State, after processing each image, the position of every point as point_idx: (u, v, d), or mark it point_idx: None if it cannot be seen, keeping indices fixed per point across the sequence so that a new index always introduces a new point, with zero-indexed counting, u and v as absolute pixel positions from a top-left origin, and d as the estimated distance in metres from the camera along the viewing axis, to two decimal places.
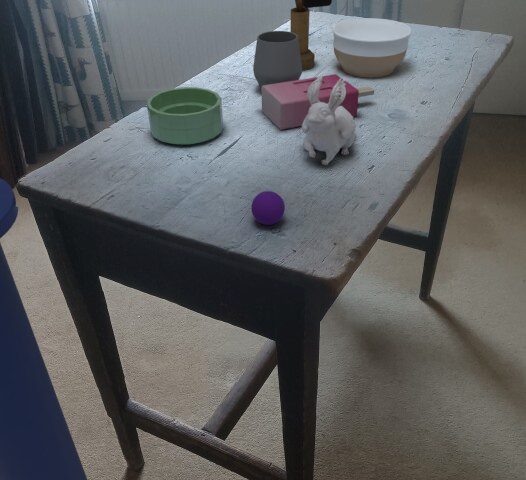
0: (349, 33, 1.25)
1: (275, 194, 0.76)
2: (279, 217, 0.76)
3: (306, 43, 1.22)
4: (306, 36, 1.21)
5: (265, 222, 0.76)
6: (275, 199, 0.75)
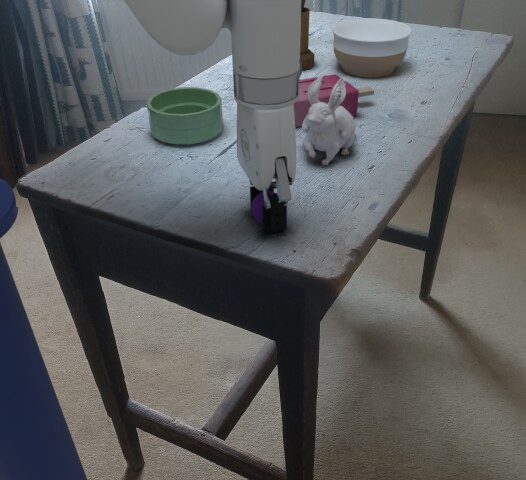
0: (349, 33, 1.25)
1: None
2: None
3: (306, 43, 1.22)
4: (306, 36, 1.21)
5: None
6: None
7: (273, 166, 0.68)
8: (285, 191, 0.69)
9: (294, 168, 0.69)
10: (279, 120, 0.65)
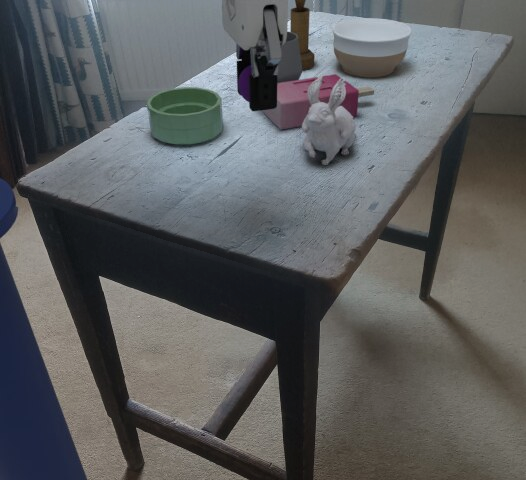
0: (349, 33, 1.25)
1: None
2: None
3: (306, 43, 1.22)
4: (306, 36, 1.21)
5: None
6: None
7: (261, 16, 0.59)
8: (275, 47, 0.60)
9: (285, 22, 0.60)
10: None
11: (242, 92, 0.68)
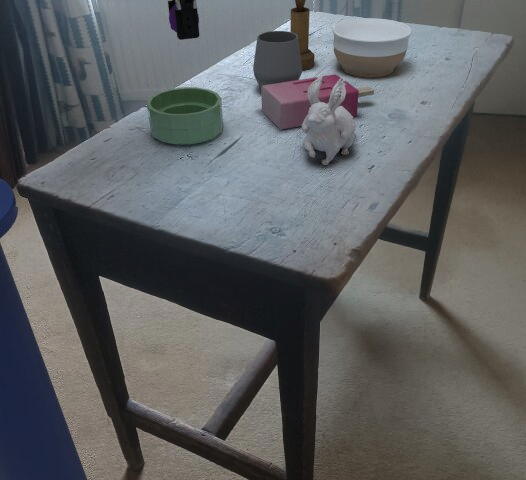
0: (349, 33, 1.25)
1: None
2: None
3: (306, 43, 1.22)
4: (306, 36, 1.21)
5: None
6: None
7: None
8: None
9: None
10: None
11: (172, 25, 0.86)
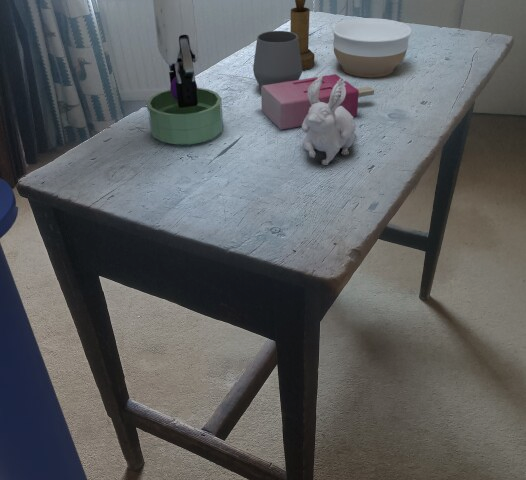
0: (349, 33, 1.25)
1: None
2: None
3: (306, 43, 1.22)
4: (306, 36, 1.21)
5: None
6: None
7: (178, 43, 0.87)
8: (188, 63, 0.88)
9: (196, 46, 0.88)
10: (179, 4, 0.84)
11: (173, 94, 0.96)
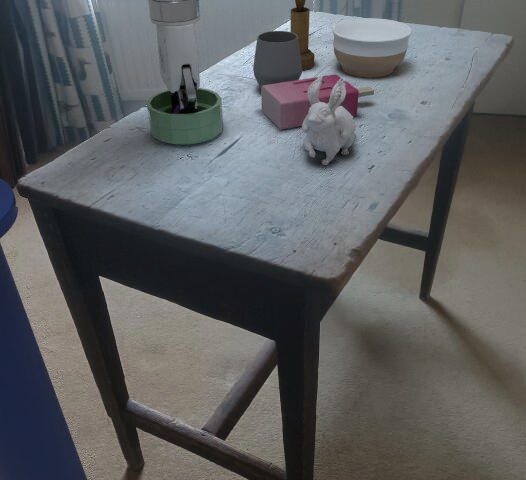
0: (349, 33, 1.25)
1: None
2: None
3: (306, 43, 1.22)
4: (306, 36, 1.21)
5: None
6: None
7: (180, 72, 0.90)
8: (190, 90, 0.90)
9: (197, 75, 0.91)
10: (182, 35, 0.87)
11: None
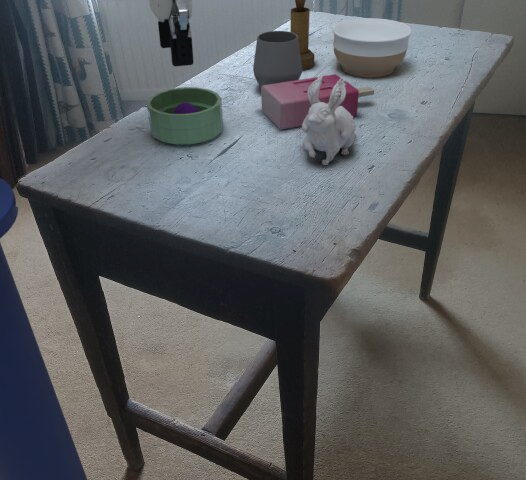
0: (349, 33, 1.25)
1: (191, 105, 0.98)
2: None
3: (306, 43, 1.22)
4: (306, 36, 1.21)
5: None
6: (190, 108, 0.98)
7: None
8: (182, 7, 0.81)
9: (189, 1, 0.84)
10: None
11: None
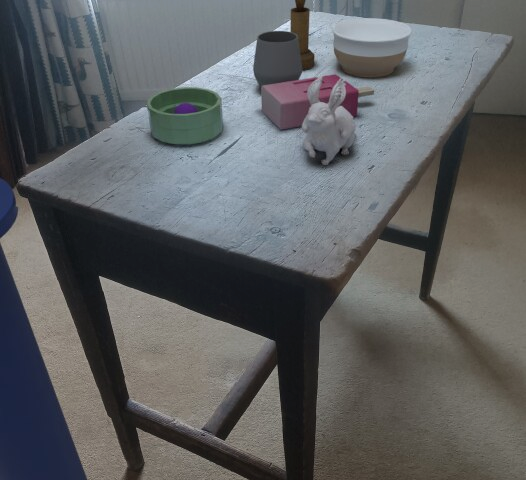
0: (349, 33, 1.25)
1: (191, 105, 0.98)
2: None
3: (306, 43, 1.22)
4: (306, 36, 1.21)
5: None
6: (190, 108, 0.97)
7: None
8: None
9: None
10: None
11: None
